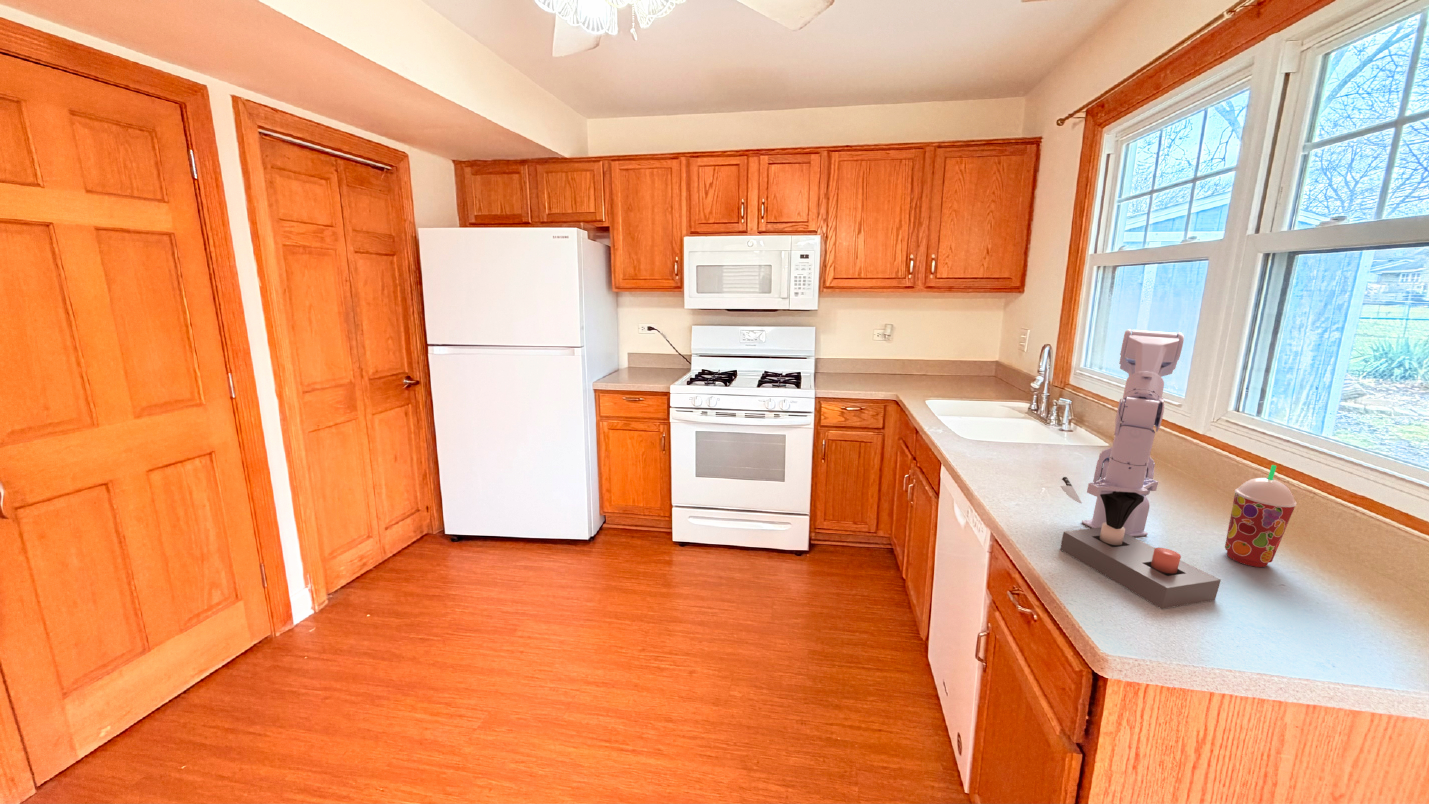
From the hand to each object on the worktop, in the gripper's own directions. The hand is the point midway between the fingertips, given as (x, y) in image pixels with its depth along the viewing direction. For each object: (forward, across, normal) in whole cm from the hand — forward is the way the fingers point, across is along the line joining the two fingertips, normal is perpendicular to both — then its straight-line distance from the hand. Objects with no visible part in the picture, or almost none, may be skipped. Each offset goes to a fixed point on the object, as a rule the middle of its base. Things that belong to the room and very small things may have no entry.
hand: (1113, 526), depth 103 cm
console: (+7, 0, -5) cm, 9 cm away
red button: (+3, 0, -10) cm, 10 cm away
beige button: (+3, 0, 0) cm, 3 cm away
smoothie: (+7, +28, -6) cm, 30 cm away
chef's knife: (+8, +23, +30) cm, 39 cm away
